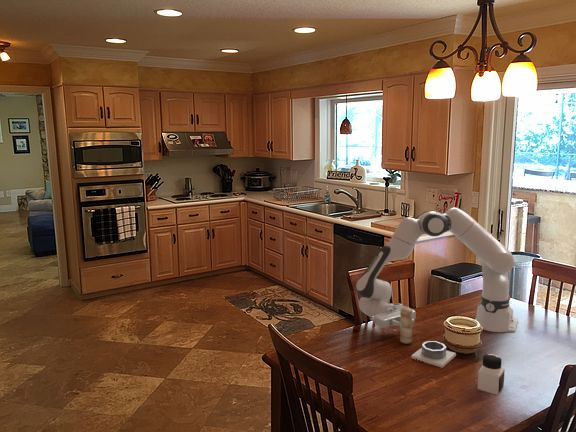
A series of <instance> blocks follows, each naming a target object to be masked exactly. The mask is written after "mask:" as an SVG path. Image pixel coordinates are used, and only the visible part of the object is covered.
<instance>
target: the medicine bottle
mask: <svg viewBox="0 0 576 432" xmlns="http://www.w3.org/2000/svg"><path fill="white" fill-rule="evenodd" d="M502 362H503V361H502V358H501V357H500V356H499V355H496V354H493V353H488V354H484V355H483V356H482V365H481V367H480V369H479V370H478V374H477V390H479V391H483V392H485V393H490V394H493V395H496V396H500V393H501V392H502V390H503V389H504V387H505V368H504V367H502Z"/></svg>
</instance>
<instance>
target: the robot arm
mask: <svg viewBox="0 0 576 432" xmlns="http://www.w3.org/2000/svg"><path fill="white" fill-rule="evenodd" d="M446 232H450V233H451V234H453V235H454V236H455V237H456V238H457V240H459V241H460V242H461V243H463V244H464V245H465V246H466V247H467V248H468V249H469V250H470V251H471V252H472V253H473V254H474V255H476V256H477V258H479V259H480V260H481V273H482V289H481V291H482V292H481V296H480V304H479V305H477V309H476V317H475V318H474V319H475V320H477V321H478V322H479V323H480V324H481V326H482V327H483V328H484V329H483V330H484V331H487V332H492V333H506V332H510V333H515V332H516V330H517V326H518V323H519V319H518V318H516V317H515V316H514V309H513V308H512V307H511V306H510V300H511V296H510V295H509V290H510V289H509V287H510V281H509V274H508V273H509V272H510V271H511V270H512V269H513V268H514V266H515V259H514V255H513V253H512V252H511V251H510V250H509V249H507V247H505V246H504V245H503V244H502V243H501V242H500V241H499V240H498V239H496V238H495V237H494V236H493V235H492V234H491V233H490V232H489V231H488V230H486V228H484V227H483V226H482V225H481V224H480V223H479V222H477V221H476V220H475V219H474V218H473V217H472V216H471V215H469V214H467V213H466V212H465V211H463V210H461V209H460V208H458V207H451V208H448V210H446V211H445V212H444V213H440V212H439V211H433V210H427V211H424V212H422V213H420V214H419V215H418V216H417V217H415V218H413V217H410V216H407V217H404V218H403V219H401V221H400V223H399V224H398V225H397V227H396V229H395V230H394V232H393V233H392V236H391V238H390V239H389V240H388V241H387V243H386V244H385V245H384V246H382V247H380V248H379V250H378V251H377V252H376V253H375V256H373V258H372V260H371V262H370V263H369V265H368V266H367V267H366V269H365V271H364V272H363V273H362V274H361V276H360V277H359V278H358V279H357V281H356V283H355V290H356V292H357V294H358V296H359V297H360V299H358V307H359V310H360V311H361V312H362V313H364V315H367V316H368V317H369V318H370V321H372V322H373V323H374V324H375V325H376V326H378V327H379V328H381V329H386V328H389V327H392V326H394V327H399V328H400V327H402V326H404V325H403V324H404V323H403V322H401V321H400V313H401V309H403V308H408V309H412V324H415V320H416V318H417V317H416V316H417V314H416V310H415V309H413V308H410V307H408V306H405V305H403V304H402V303H389V302H390V300H391V298H392V295H393V287H392V285H391V283H390V282H388V281H385V280H382V279H378V276H379V274H380V273H381V271H382V270H383V268H384V267H385V265H386V264H388V263H390V262H392V261H399V260H403V259H406V258H408V257H409V256H410V255H411V254H412V253H413V250H414V249H415V247H416V244H417V242H418V240H419V238H420V237H421V236H423V235H428V236H429V237H439V236H441V235H443V234H444V233H446Z"/></svg>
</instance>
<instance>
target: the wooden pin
mask: <svg viewBox="0 0 576 432" xmlns="http://www.w3.org/2000/svg"><path fill="white" fill-rule="evenodd" d="M408 308H409V307H408ZM408 308H403V309H401V313H400V321H401V322H403V323H404V324H403V325H404V326H402V327H399V330H400V332H399V334H400V335H399V336H400V337H399V342H400V343H403V344H411V343H412V342H413V323H412V309H413V308H411V309H408Z"/></svg>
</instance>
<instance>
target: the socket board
mask: <svg viewBox="0 0 576 432" xmlns="http://www.w3.org/2000/svg"><path fill="white" fill-rule="evenodd" d="M456 356H457V353H456V352H453V351H450V350H447V346H446V345H445V344H444V343H442V342H438V341H436V340H432V341H431V340H429V341H428V340H427V341H425V342H423V343H422V344H421V348H419V349H418V350H416V351H415V352H414V353H413V354H411V359H413V360H416V359H417V360H416V361H419V360H420V361H419V362H422V361H423V362H424V363H425V364H429V365H432V366H436V367H439V368H440V369H441V368H442V369H443V368H444V367H445V366H446V365H447V364H449V362H450V361H452V360H453V359H455V357H456Z"/></svg>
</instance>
